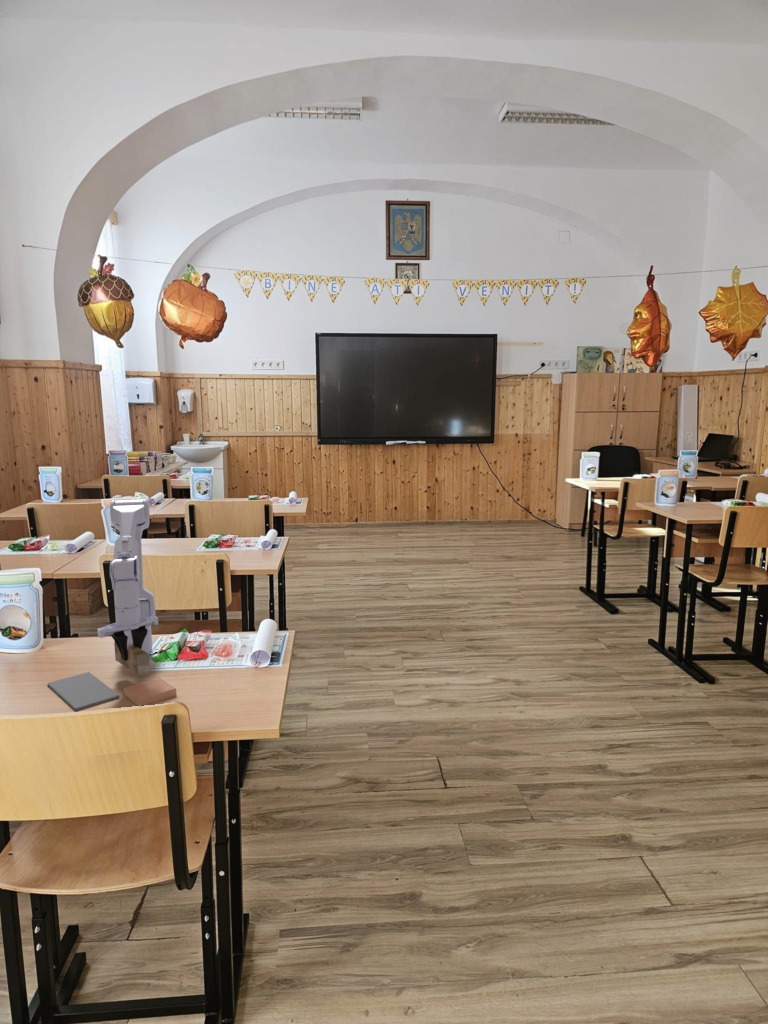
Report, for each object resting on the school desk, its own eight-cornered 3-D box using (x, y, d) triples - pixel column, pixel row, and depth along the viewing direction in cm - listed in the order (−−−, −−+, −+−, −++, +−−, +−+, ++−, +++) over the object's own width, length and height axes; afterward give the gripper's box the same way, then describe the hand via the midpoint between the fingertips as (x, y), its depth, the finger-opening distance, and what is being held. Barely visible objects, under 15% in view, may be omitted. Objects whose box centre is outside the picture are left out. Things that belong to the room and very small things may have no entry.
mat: (47, 685, 162) (47, 682, 162) (88, 674, 169) (88, 671, 169) (75, 710, 148) (75, 708, 148) (119, 697, 154) (119, 695, 154)
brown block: (115, 660, 167) (114, 641, 166) (125, 657, 169) (124, 639, 168) (139, 676, 156) (138, 656, 156) (149, 673, 158) (148, 653, 157)
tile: (123, 688, 156) (139, 699, 149) (159, 677, 162) (175, 688, 156) (124, 696, 156) (139, 708, 150) (160, 685, 162) (176, 696, 156)
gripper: (103, 615, 153) (107, 670, 155) (162, 603, 163) (165, 654, 165) (92, 609, 158) (96, 662, 160) (150, 597, 168) (153, 647, 170)
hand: (130, 658), depth 162 cm, fingers closed on brown block, 2 cm apart
